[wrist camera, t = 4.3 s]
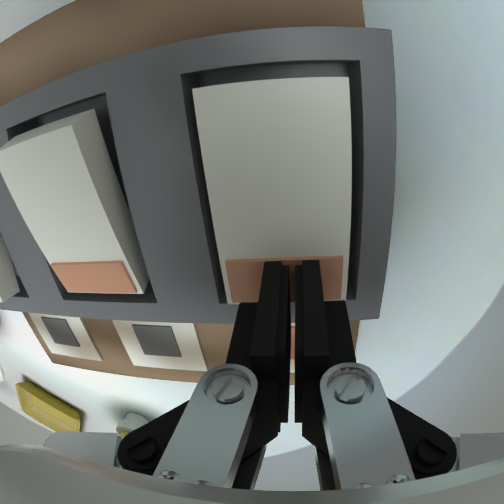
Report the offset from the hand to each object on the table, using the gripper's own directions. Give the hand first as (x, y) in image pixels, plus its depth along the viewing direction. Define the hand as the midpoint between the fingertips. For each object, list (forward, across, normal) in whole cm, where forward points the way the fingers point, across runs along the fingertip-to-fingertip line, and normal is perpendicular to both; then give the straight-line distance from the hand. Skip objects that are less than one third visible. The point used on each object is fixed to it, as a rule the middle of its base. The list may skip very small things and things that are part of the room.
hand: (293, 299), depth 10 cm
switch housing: (+4, +8, -3) cm, 9 cm away
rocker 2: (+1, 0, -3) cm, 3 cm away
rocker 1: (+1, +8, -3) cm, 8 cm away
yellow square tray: (+7, +28, +22) cm, 36 cm away
